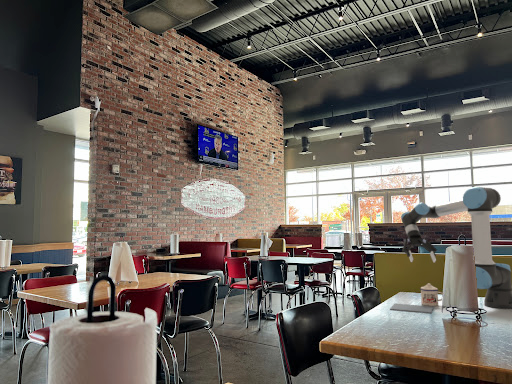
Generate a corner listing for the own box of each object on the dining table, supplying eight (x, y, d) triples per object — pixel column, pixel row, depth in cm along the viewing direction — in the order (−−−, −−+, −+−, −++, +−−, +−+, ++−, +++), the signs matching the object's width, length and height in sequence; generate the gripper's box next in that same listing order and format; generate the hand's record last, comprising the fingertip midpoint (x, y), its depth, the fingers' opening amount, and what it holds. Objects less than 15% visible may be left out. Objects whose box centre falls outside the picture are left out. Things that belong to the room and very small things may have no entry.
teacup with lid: (421, 305, 214) (420, 284, 215) (420, 302, 222) (419, 282, 223) (445, 307, 209) (444, 285, 210) (444, 304, 217) (442, 283, 219)
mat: (433, 307, 208) (433, 306, 208) (431, 313, 194) (431, 312, 194) (394, 304, 218) (394, 303, 218) (389, 309, 204) (389, 308, 204)
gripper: (430, 237, 245) (442, 265, 229) (391, 236, 244) (400, 264, 229) (434, 229, 239) (446, 257, 224) (395, 228, 239) (404, 256, 223)
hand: (423, 261), depth 226 cm, fingers open, 13 cm apart
